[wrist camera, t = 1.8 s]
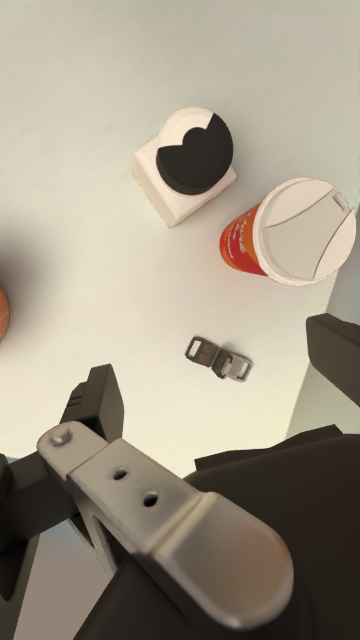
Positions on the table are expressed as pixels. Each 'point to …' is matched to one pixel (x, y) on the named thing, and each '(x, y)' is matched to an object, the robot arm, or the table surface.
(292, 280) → the coffee cup
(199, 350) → the strap clip
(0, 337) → the pot
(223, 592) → the robot arm
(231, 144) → the medicine bottle
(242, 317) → the table surface
